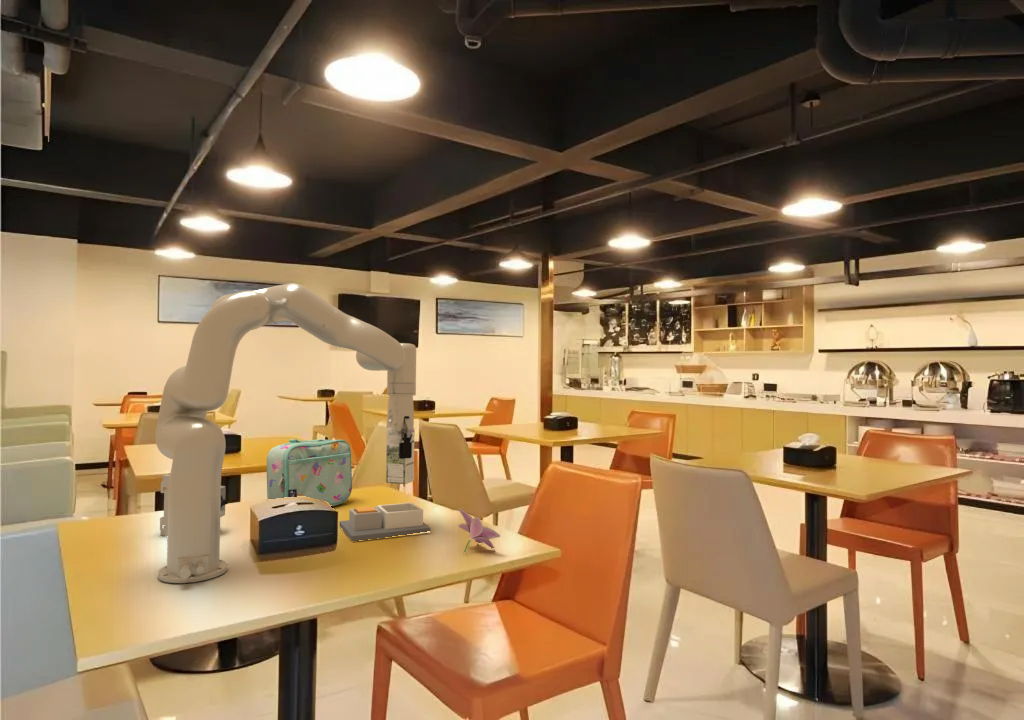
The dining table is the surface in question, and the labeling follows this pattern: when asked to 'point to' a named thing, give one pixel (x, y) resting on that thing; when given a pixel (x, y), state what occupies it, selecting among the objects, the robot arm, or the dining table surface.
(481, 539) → the lily
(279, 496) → the lunch box
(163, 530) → the circuit breaker
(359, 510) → the button
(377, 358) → the robot arm
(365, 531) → the grey compartment tray
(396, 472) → the syrup box
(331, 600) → the dining table surface
